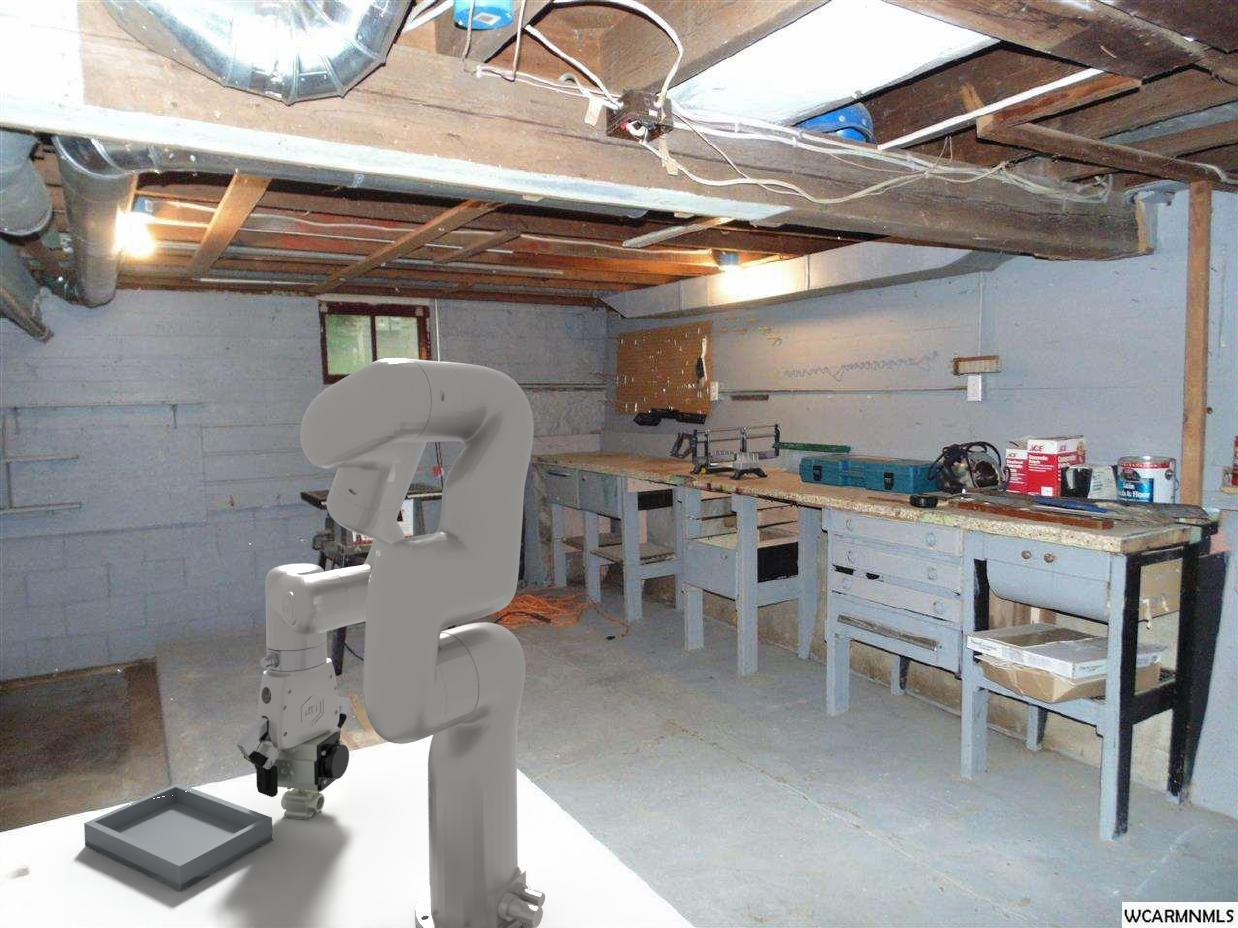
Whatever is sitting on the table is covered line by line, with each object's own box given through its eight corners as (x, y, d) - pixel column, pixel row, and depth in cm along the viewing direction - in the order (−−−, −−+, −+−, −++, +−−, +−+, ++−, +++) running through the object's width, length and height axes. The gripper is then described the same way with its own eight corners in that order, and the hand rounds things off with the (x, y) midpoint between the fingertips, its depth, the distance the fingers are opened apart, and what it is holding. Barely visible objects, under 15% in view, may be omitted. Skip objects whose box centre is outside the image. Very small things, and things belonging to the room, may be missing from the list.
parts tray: (272, 840, 96) (272, 817, 96) (180, 891, 85) (179, 866, 85) (178, 803, 105) (177, 783, 105) (85, 846, 94) (84, 822, 94)
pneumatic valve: (276, 801, 106) (274, 718, 105) (351, 808, 104) (349, 724, 103) (250, 821, 100) (247, 734, 100) (328, 830, 98) (326, 741, 98)
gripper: (258, 679, 92) (260, 814, 93) (366, 643, 107) (367, 759, 108) (219, 669, 95) (222, 799, 96) (329, 635, 110) (330, 748, 111)
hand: (298, 778), depth 102 cm, fingers open, 9 cm apart
